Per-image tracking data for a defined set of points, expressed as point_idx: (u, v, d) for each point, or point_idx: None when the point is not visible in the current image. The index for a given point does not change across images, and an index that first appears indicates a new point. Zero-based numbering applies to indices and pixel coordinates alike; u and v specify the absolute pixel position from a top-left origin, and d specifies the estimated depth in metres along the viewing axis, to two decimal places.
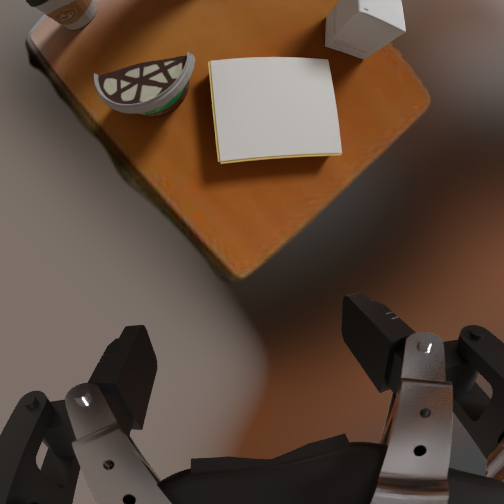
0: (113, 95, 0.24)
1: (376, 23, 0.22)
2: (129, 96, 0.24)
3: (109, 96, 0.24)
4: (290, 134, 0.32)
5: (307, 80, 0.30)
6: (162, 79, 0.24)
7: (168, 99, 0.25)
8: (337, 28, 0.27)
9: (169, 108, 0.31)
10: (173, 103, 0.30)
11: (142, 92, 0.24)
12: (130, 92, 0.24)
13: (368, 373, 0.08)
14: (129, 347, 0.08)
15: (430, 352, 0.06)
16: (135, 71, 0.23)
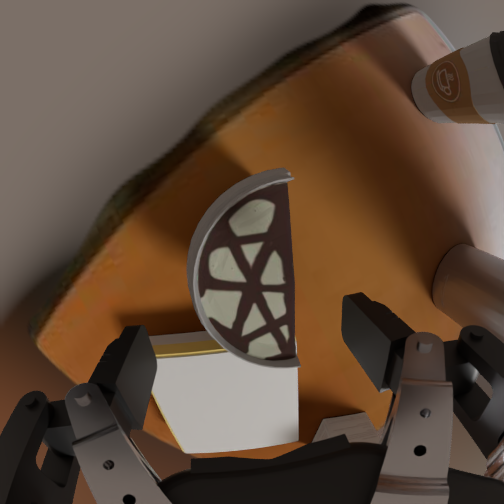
0: (226, 229, 0.14)
1: None
2: (217, 266, 0.14)
3: (225, 219, 0.14)
4: (191, 421, 0.24)
5: (266, 430, 0.26)
6: (249, 327, 0.16)
7: None
8: None
9: None
10: None
11: (224, 293, 0.15)
12: (228, 268, 0.15)
13: (368, 373, 0.08)
14: (129, 347, 0.08)
15: (430, 352, 0.06)
16: (275, 277, 0.15)
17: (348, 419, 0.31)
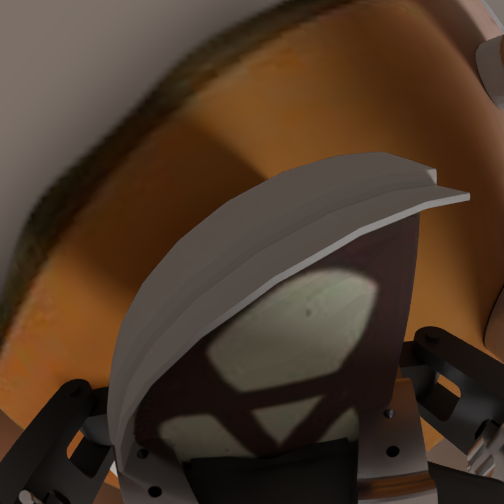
0: (201, 374, 0.04)
1: None
2: (187, 445, 0.04)
3: (193, 350, 0.03)
4: None
5: None
6: None
7: None
8: None
9: None
10: None
11: None
12: (215, 450, 0.04)
13: None
14: None
15: None
16: None
17: None
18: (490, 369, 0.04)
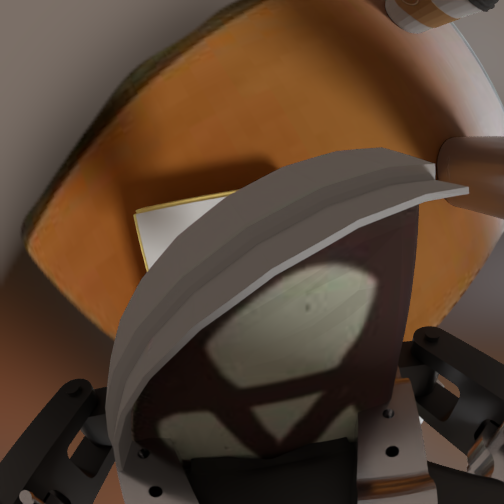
0: (200, 369, 0.04)
1: None
2: (186, 443, 0.04)
3: (192, 345, 0.03)
4: None
5: None
6: None
7: None
8: None
9: None
10: None
11: None
12: (215, 448, 0.04)
13: None
14: None
15: None
16: None
17: None
18: (489, 369, 0.04)
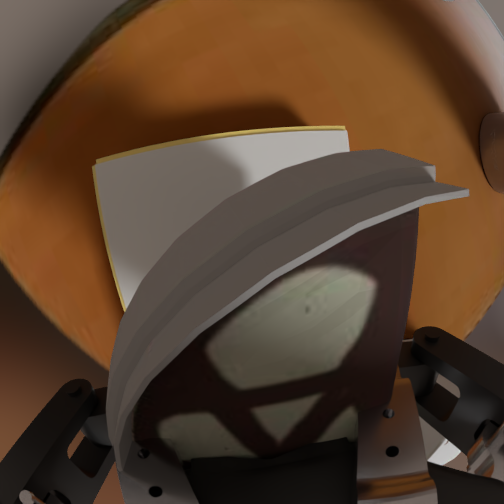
0: (200, 371, 0.04)
1: None
2: (186, 444, 0.04)
3: (192, 347, 0.03)
4: None
5: None
6: None
7: None
8: None
9: None
10: None
11: None
12: (215, 449, 0.04)
13: None
14: None
15: None
16: None
17: None
18: (489, 369, 0.04)
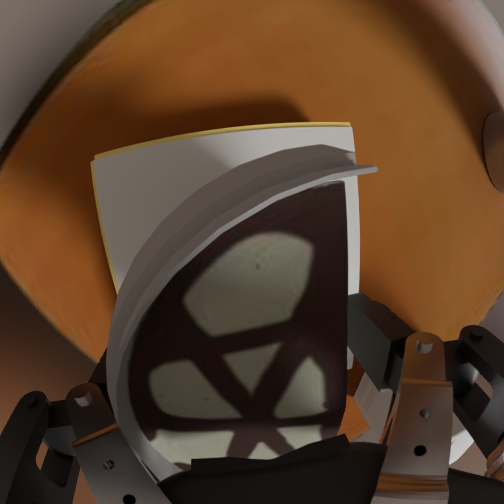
0: (180, 320, 0.05)
1: None
2: (173, 395, 0.05)
3: (173, 298, 0.05)
4: None
5: None
6: None
7: None
8: None
9: None
10: None
11: (197, 435, 0.06)
12: (197, 399, 0.05)
13: (368, 373, 0.08)
14: None
15: (430, 352, 0.06)
16: (307, 405, 0.06)
17: None
18: None
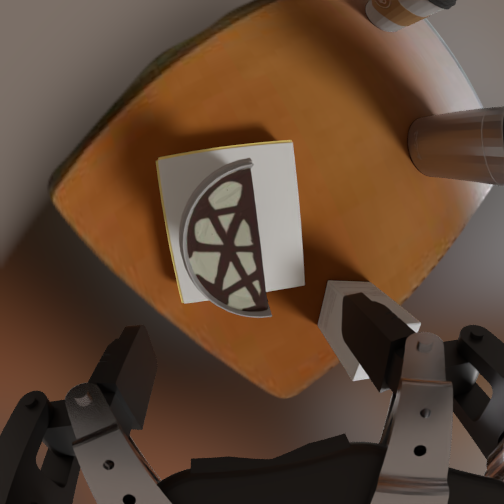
0: (207, 204, 0.19)
1: None
2: (201, 233, 0.19)
3: (205, 197, 0.18)
4: None
5: (271, 260, 0.30)
6: (228, 282, 0.20)
7: None
8: None
9: None
10: None
11: (207, 254, 0.19)
12: (209, 234, 0.19)
13: (368, 373, 0.08)
14: (129, 347, 0.08)
15: (430, 352, 0.06)
16: (245, 239, 0.19)
17: (353, 282, 0.35)
18: None
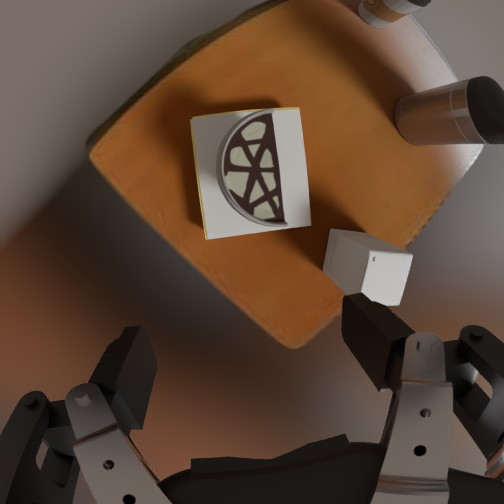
0: (240, 136, 0.24)
1: (359, 272, 0.31)
2: (235, 157, 0.25)
3: (239, 131, 0.24)
4: None
5: (283, 201, 0.35)
6: (254, 196, 0.26)
7: (229, 203, 0.26)
8: (350, 236, 0.36)
9: None
10: None
11: (239, 173, 0.25)
12: (240, 158, 0.25)
13: (367, 373, 0.08)
14: (129, 347, 0.08)
15: (430, 352, 0.06)
16: (268, 163, 0.25)
17: (353, 231, 0.41)
18: None
